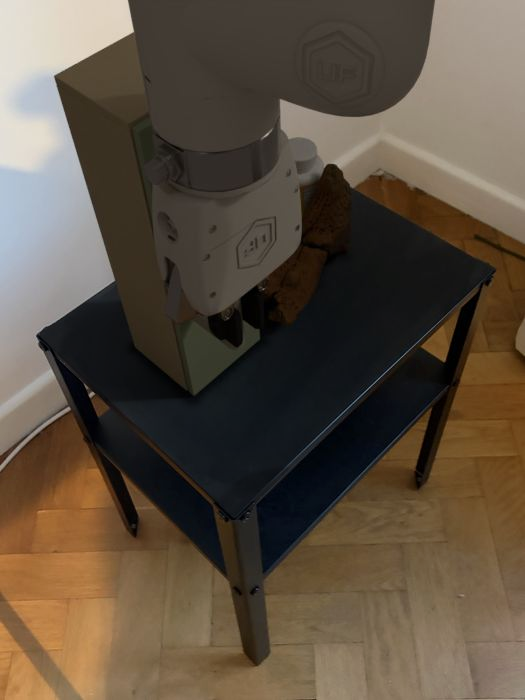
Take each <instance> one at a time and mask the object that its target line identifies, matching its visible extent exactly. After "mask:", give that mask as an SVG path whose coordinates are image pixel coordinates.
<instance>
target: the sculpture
mask: <svg viewBox="0 0 525 700" xmlns="http://www.w3.org/2000/svg"><path fill="white" fill-rule="evenodd" d="M351 191H352V190H351V184H350V183H349V181H348V180H347V179H346V178H345V176H344V172H343V170H342V169H341V168H339V166H338V165H337V164H335V163H326V165H324V170H323V173H322V175H321V177H320V179H319V182H318V185H317V187H316V189H315V192H314V193H313V195H312V197H311V198H310V202H309V204H308V206H307V208H306V210H305V212H304V214H303V216H302V234H301V241H300V244H299V246H298V248H297V249H296V251H295V252H294V253H293V254H292V255H291V256H290V257H289V258H288V259H287V260H286V261H285V262H284V263H282V264H281V265H280V266H279V267H278V268H276V269H275V270H274V271H273V272H272V273H270V274H269V284H268V286H267V288H266V289H265V290H263V291H262V294H263V302H268V303H271V302H272V306H271V308H270V310H269V311H268V316H267V317H268V320H270V321H271V322H277V323H280V324H283V325H284V327H289V326H292V325H293V324H294V322H295V321H296V320H297V318H298V316H299V315H300V313H301V312H302V311H303V310H304V309H306V307H307V305H308V304H309V302H311V301H310V300H311V297H313V295H314V293H315V292H316V290H317V288H318V286H319V283H320V279H321V275H322V270H323V267H324V265H325V264H326V262H327V260H328V258H330V257H332V256H334V255H336V254H337V255H338V254H341V255H347V254H348V253H349V251H350V249H351V238H352V237H351V235H352V227H351V221H352V205H353V202H352V194H351Z"/></svg>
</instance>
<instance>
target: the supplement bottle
mask: <svg viewBox="0 0 525 700" xmlns="http://www.w3.org/2000/svg"><path fill="white" fill-rule="evenodd" d="M288 140H289V143H290V146H291V149H292V152H293V155H294V159H295V163H296V168H297V174H298V180H299V188H300V199H301V215H302V216H303V214H304V212H305V210H306V208H307V206H308V204H309V202H310V198H311V197H312V195H313V193H314V192H315V189H316V187H317V185H318V182H319V179H320V177H321V175H322V173H323V170H324V168H325V164H324V161H323V159H322V158H321V156H320V155H318V146H317V144H316V143H315V142H314V141H313V140H311V139H310V138H305V137H301V136H299V137H297V136H296V137H292V138H288Z"/></svg>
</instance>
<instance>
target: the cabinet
mask: <svg viewBox="0 0 525 700" xmlns="http://www.w3.org/2000/svg"><path fill="white" fill-rule="evenodd" d="M53 79H54V81H55V84H56V85H55V86H56V89H57V92H58V96H59V99H60V102H61V105H62V109H63V113H64V115H65V119H66V123H67V126H68V129H69V132H70V135H71V138H72V143H73V146H74V149H75V152H76V155H77V159H78V163H79V166H80V168H81V172H82V175H83V179H84V182H85V187H86V189H87V193H88V195H89V198H90V199H89V200H90V203H91V206H92V208H93V212H94V216H95V219H96V222H97V225H98V229H99V231H100V236H101V239H102V242H103V245H104V249H105V251H106V255H107V259H108V262H109V266H110V269H111V272H112V275H113V278H114V282H115V285H116V288H117V292H118V295H119V298H120V302H121V305H122V309H123V311H124V315H125V318H126V321H127V325H128V328H129V332H130V336H131V339H132V342H133V345H134V348H135V349H137V350H138V351H139V352H140V353H141V354H143V356H145V357H146V358H147V359H148V360H149V361H151V363H153V364H154V365H155V366H157V367H158V368H159V369H160V370H161V371H163V372H164V373H165V374H166V375H167V376H168V377H170V378H171V379H172V380H173V381H174V382H176V383H177V384H178V385H179V386H180V387H182V388H183V389H184V390H185V391H187V392H189V388H188V383H187V379H186V374H185V370H184V365H183V360H182V356H181V351H180V347H179V342H178V337H177V333H176V328H175V324H174V321H173V320H172V319H170V318H169V317H168V316H167V315H165V306H166V300H167V294H168V291H167V287H166V286H165V285H164V283H163V280H162V277H161V274H160V270H159V266H158V260H157V255H156V248H155V240H154V231H153V222H152V218H151V213H150V208H149V204H148V199H147V195H146V190H145V185H144V181H143V176H142V172H141V167H140V162H139V158H138V153H137V149H136V144H135V139H134V135H133V130H132V128H133V127H134V126H136V125H137V124H139V123H141V122H142V121H144V120H145V119H147V118H149V117H150V115H149V110H148V105H147V99H146V94H145V89H144V83H143V78H142V73H141V68H140V62H139V57H138V52H137V46H136V41H135V36H134V31H133V32H130V33H129V34H127V35H126V36H124V37H122V38H120V39H118V40H117V41H114V42H113V43H111V44H109V45H107V46H105V47H104V48H102V49H100V50H98V51H96V52H94V53H92V54H90V55H88V56H87V57H85V58H83V59H82V60H79V61H78V62H77V63H74V64H72V65H71V66H69V67H67V68H65V69H63V70H61V71H60V72H58V73H56V74H55V75H53Z"/></svg>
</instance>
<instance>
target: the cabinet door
mask: <svg viewBox="0 0 525 700" xmlns="http://www.w3.org/2000/svg"><path fill="white" fill-rule="evenodd" d="M132 130H133V135H134V139H135V144H136V149H137V153H138V158H139V162H140V167H141V172H142V176H143V181H144V185H145V190H146V195H147V199H148V204H149V208H150V213H151V218H152V222H153V217H152V187H153V183H152V182H151V181H150V180H149V179H148V177H147V176H146V174H145V172H144V165H145V164H147V163H148V162H150V161H151V160H152V157H153V156H154V155H155V147H154V142H153V137H152V135H153V131H152V125H151V120H150V117H149V118H147V119H145V120H144V121H142V122H141V123H139V124H137V125H136V126H134V127H133V128H132ZM168 289H169V288H167V291H168ZM233 304H234V308H235V309H237V310H238V311H239V312H240V314H241V322H242V333H243V341H242V342H243V343H242V344H241V345H240V346H239V347H238V348H236V347H234V346H233V345H232V344H230V343H229V342H228V341H227V340H225V339H224V340H223V341H221V340H219V339H218V338H217V337H215V336H214V335H213V334H212V333H211V331H210V329H209V324H208V317H207V316H201V315H200V314H198V315H196V316H195V317H194V318H192V319H190V320H187V321H185V322H183V323H181V324H177V323H175V322H174V324H175V328H176V333H177V337H178V342H179V347H180V351H181V356H182V360H183V365H184V370H185V374H186V379H187V383H188V388H189V390H188V392H189V393H190V394H191V395H192V396H193V397H195V396H196V395H197V394H198V393H200V391H202V390H203V389H204V388H205V387H206V386H208V385H209V384H210V383H211V382H212V381H213V380H215V379H216V378H217V377H218V376H219V375H220V374H221V373H223V372H224V371H225V370H226V369H228V367H230V366H231V365H232V364H233V363H234V362H235V361H237V360H238V359H239V358H240V357H241V356H242V355H244V354H245V353H246V352H247V351H248V350H249V349H251V348H252V347H253V346H254V345H255V344H256V343H258V342H259V341H260V340H261V334H260V331H261V330H260V329H255V328H253V327H252V326H251V325H249V324H248V323H247V322H245V321H244V320H243V316H242V306H241V297H240V298H239V299H238V300H237V301H235V302H234V303H233Z"/></svg>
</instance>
